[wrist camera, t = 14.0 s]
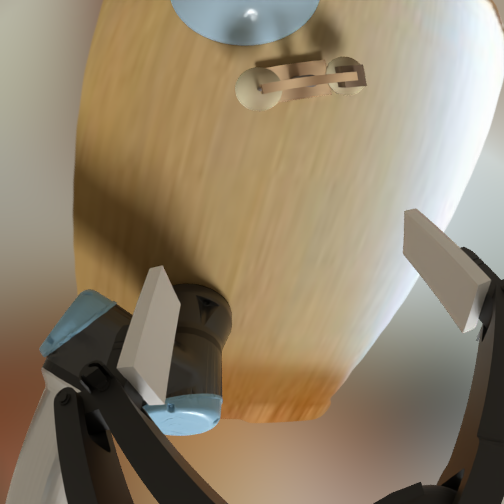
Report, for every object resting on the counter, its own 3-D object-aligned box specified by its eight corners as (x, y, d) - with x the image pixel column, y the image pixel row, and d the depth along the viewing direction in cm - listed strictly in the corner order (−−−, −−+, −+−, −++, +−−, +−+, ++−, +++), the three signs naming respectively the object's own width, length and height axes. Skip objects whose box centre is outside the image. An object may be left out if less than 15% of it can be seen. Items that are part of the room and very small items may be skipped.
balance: (239, 109, 37) (241, 118, 27) (231, 75, 35) (230, 71, 25) (351, 91, 36) (389, 97, 26) (345, 58, 34) (382, 52, 24)
